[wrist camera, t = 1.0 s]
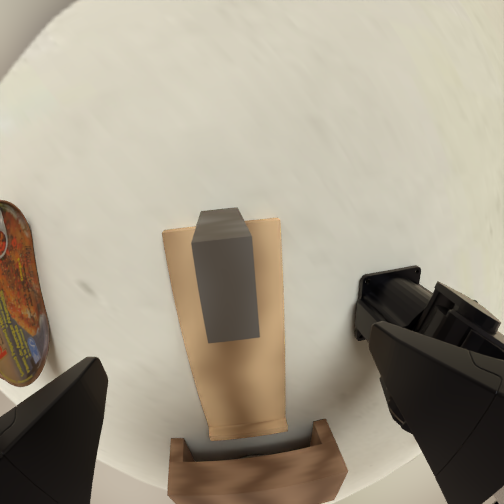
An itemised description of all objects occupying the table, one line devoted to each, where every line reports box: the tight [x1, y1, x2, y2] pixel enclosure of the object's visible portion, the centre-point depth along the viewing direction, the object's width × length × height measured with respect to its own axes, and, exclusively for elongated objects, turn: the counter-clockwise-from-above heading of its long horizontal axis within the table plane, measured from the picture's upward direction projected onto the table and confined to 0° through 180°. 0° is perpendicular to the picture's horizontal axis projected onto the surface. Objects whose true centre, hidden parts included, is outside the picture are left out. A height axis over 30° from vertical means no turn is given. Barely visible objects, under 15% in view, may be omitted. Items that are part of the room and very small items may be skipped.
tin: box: [0, 200, 49, 387], centre depth 14 cm, size 15×3×8 cm, turn 176°
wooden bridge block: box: [168, 419, 348, 504], centre depth 24 cm, size 18×10×8 cm, turn 94°
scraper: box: [162, 208, 288, 441], centre depth 19 cm, size 8×22×8 cm, turn 5°
